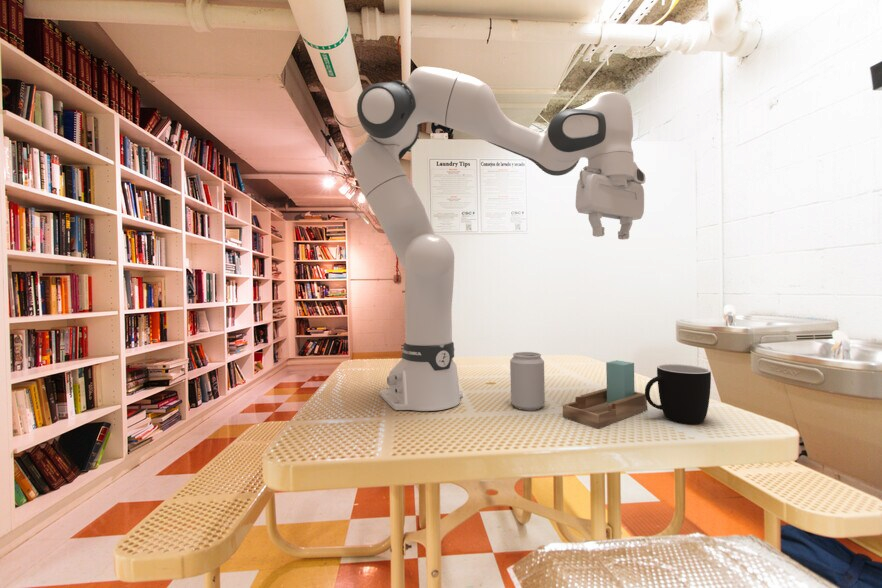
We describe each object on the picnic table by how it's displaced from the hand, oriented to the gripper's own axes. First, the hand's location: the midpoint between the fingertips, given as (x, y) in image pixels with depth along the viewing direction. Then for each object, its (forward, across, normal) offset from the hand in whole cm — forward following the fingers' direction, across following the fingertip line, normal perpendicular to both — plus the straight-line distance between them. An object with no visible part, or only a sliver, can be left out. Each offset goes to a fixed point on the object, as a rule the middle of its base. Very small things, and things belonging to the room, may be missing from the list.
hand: (611, 237), depth 80 cm
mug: (+37, +5, -10) cm, 39 cm away
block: (+36, +3, 0) cm, 36 cm away
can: (+37, -12, +14) cm, 41 cm away
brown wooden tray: (+37, -3, 0) cm, 37 cm away
